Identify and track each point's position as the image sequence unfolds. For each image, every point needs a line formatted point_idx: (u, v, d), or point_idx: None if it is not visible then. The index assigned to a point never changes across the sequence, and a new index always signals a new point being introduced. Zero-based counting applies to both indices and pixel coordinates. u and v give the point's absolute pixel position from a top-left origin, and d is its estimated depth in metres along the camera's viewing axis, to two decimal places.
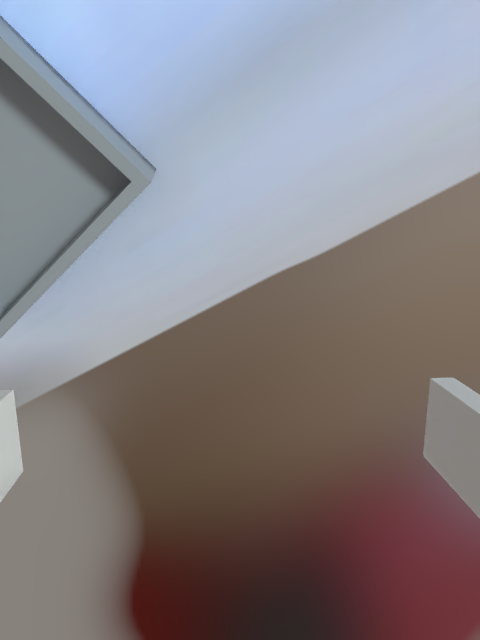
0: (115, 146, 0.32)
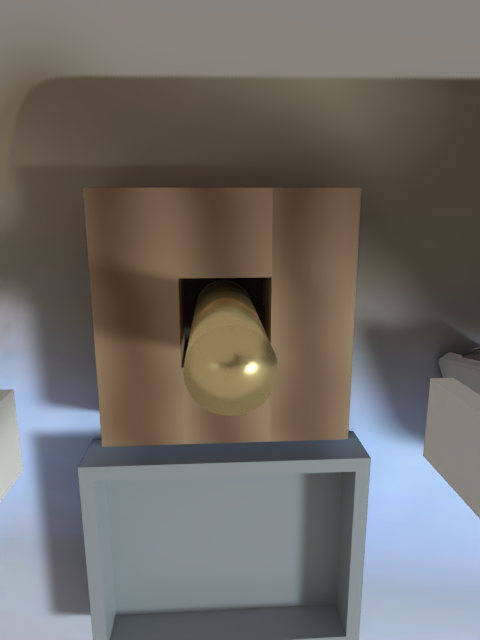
0: (359, 607, 0.35)
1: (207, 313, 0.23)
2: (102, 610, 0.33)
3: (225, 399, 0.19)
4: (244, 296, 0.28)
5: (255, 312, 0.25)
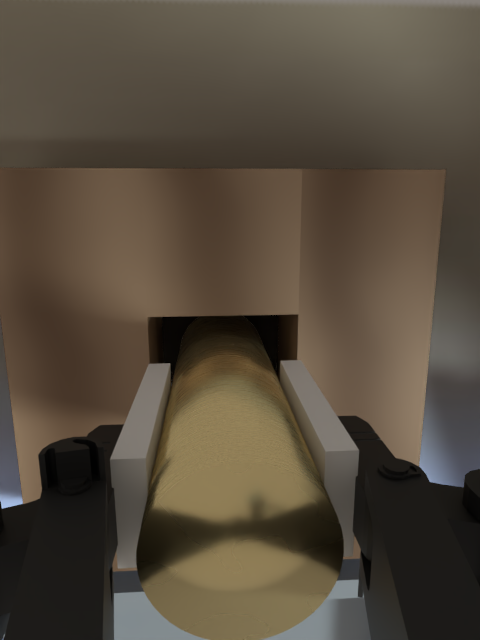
0: None
1: (192, 397, 0.12)
2: None
3: (229, 611, 0.09)
4: (254, 344, 0.17)
5: (276, 380, 0.15)
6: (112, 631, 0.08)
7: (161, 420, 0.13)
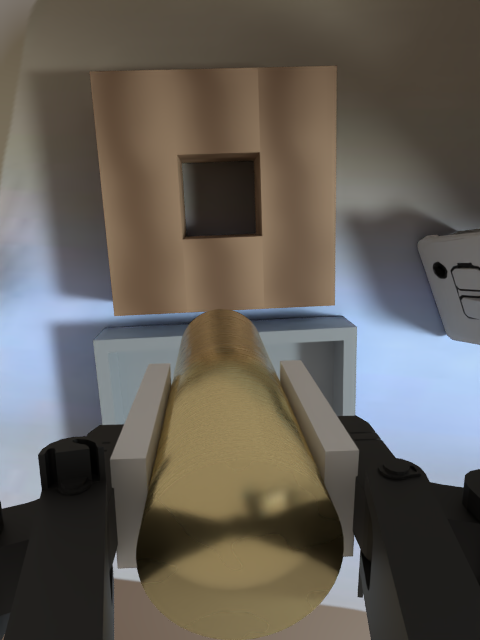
0: None
1: (192, 396, 0.12)
2: None
3: (229, 609, 0.09)
4: (254, 343, 0.17)
5: (276, 378, 0.15)
6: (112, 631, 0.08)
7: (161, 420, 0.13)
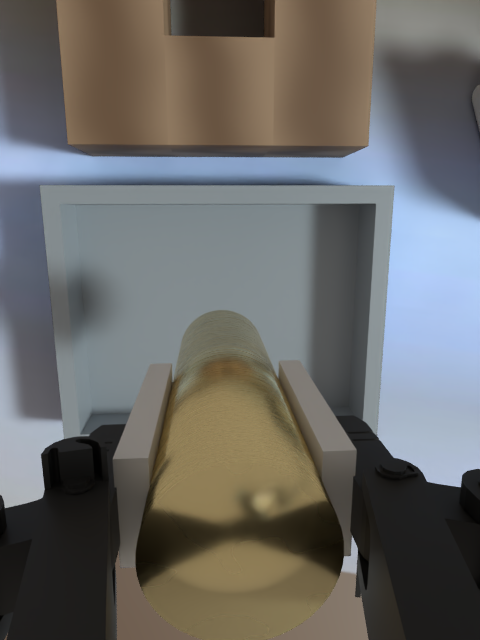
0: (378, 389, 0.29)
1: (192, 398, 0.12)
2: (73, 382, 0.28)
3: (228, 613, 0.09)
4: (255, 344, 0.17)
5: (276, 380, 0.15)
6: (115, 631, 0.08)
7: (163, 420, 0.13)
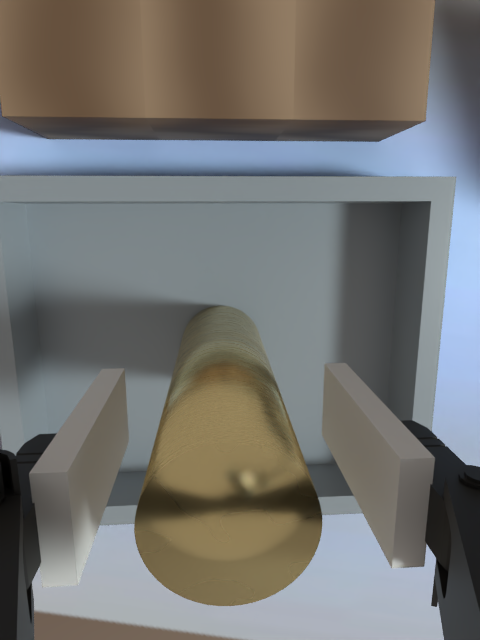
0: None
1: (189, 386, 0.13)
2: (21, 442, 0.21)
3: (218, 577, 0.10)
4: (251, 338, 0.18)
5: (269, 371, 0.16)
6: None
7: (103, 429, 0.12)
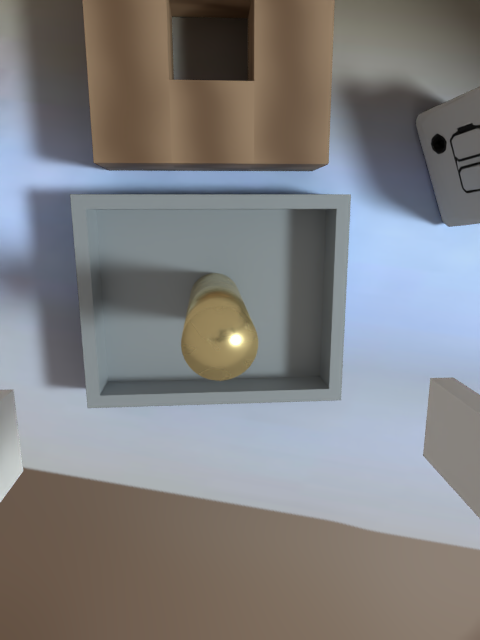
0: (342, 359, 0.36)
1: (200, 298, 0.27)
2: (95, 352, 0.34)
3: (215, 367, 0.24)
4: (232, 286, 0.32)
5: (241, 299, 0.30)
6: None
7: None
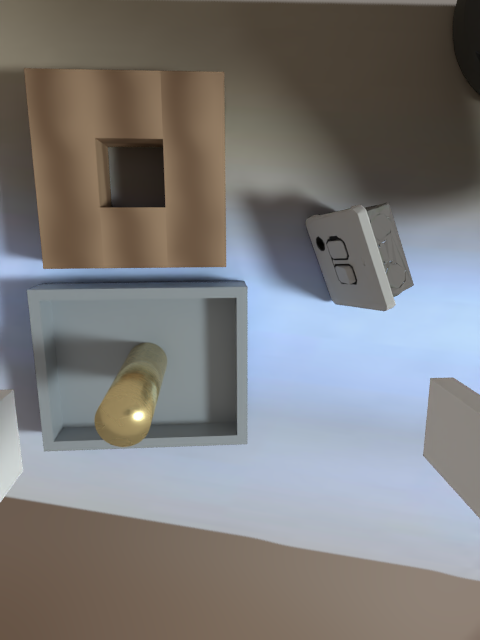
0: None
1: (117, 380, 0.36)
2: (49, 408, 0.44)
3: (120, 437, 0.33)
4: (153, 360, 0.42)
5: (154, 375, 0.39)
6: None
7: None
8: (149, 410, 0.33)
